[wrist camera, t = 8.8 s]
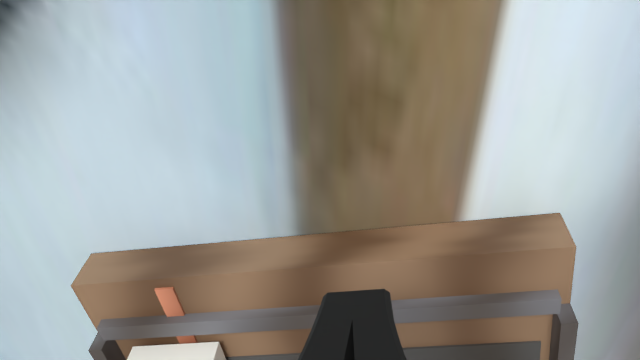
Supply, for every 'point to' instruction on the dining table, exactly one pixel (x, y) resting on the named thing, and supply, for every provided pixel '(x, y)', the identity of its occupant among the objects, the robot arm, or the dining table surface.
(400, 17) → the dining table surface
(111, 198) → the dining table surface
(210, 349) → the fader knob
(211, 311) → the console
